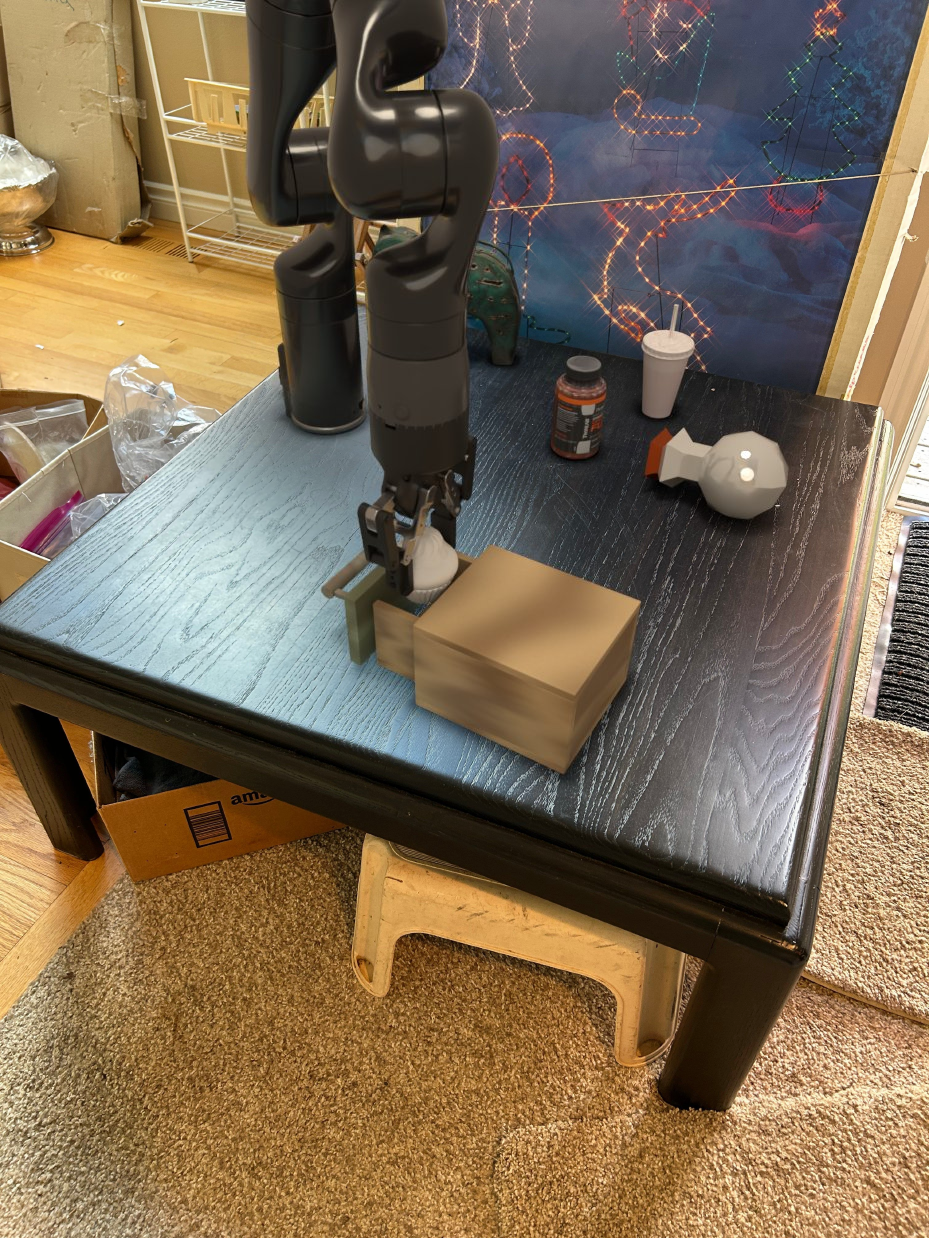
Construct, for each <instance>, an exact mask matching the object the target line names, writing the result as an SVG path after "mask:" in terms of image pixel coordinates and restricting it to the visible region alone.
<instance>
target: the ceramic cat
mask: <svg viewBox="0 0 929 1238" xmlns="http://www.w3.org/2000/svg"><path fill="white" fill-rule="evenodd" d="M423 219H424V217H422V218H420V221H419V231H420V233H419V232H418V231H416V230H414V229H413V228H410V227H408V226H402V225H400V226H395V227H393V228H391V227H389V226H388V225H387V224H385V223H384V224H382V225H381V226H380V228H379V232H378V238H377V240H376V242H375V245H374V246H373V249H372V253H371V258H372V257H373V256H374V255H375V254H377V253H378V252H379V251H381V250H384V249H386V248H388V247H391V246H393V245H396V244H399V243H402V242H405V241H408V240H410V239H412V238H414V237H416V236H418V235H420V234H421V233H422V232H423V231H424V229H423V221H424V220H423ZM477 244H480V245H483V246H485V247H483V246H480V245H477V246H476V250H475V254H474V258H473V263H472V267H471V272H470V277H469V283H468V301H467V303H468V306H467V316H471V317H474V318H476V319H478V320H479V321H480V322H481V323H482V325H483V326H484V329H485V331H486V333H487V336H488V340H489V342H490V348H491V349H490V351H491V362H492V363H493V365H497V366H512V364H513V363H514V359H515V357H516V351H517V344H518V339H519V334H520V329H521V321H522V309H521V298H520V297H521V296H520V291H519V287H518V284H517V281H516V276H515V268H514V266H513V263H512V260H511V258H510V256H509V255H508V254H507V252H506V251H505V250H504V249H503V248H502V247H501V246H499V245H497V244H495V243H493V242H490V241H487V240H484V239H483V240H482V239H478V242H477ZM487 247H490V248H492V249H494V250H497V252H499V253H500V254H501V255H502V256H503V257H504V258H505V259H506V260H507V261H508V264H509V265H508V264H507V262H506V261H505V259H503V258H502V257H501V256H499V255H498V254H497V253H496V252H494V251H493V250H491V249H489V248H487Z"/></svg>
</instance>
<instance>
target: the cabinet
mask: <svg viewBox="0 0 929 1238" xmlns="http://www.w3.org/2000/svg"><path fill="white" fill-rule="evenodd" d="M641 606H642V601H641V600H638V599H637V598H634V597H631V596H629V595H626V594H623V593H621V592H618V591H615V590H613V589H610V588H607V587H604V586H602V585H599V584H597V583H594V582H592V581H589V580H586V579H583V578H581V577H579V576H576V575H574V574H571V573H567V572H565V571H563V570H560V569H557V568H555V567H552V566H550V565H547V564H544V563H541V562H539V561H536V560H533V559H531V558H528V557H526V556H523V555H521V554H518V553H515V552H512V551H510V550H508V549H505V548H502V547H500V546H496V545H494V544H492V543H490V544H489V545H488V546H486V548H485V549H484V551H482V553H480V554H479V556H477V558H476V560H475V561H474V562H473V563H472V564H471V565H470V566H469V567H468V568H467V569H466V570H465V571H464V572H463V573H462V574H461V575H460V577H459V578H458V579H457V580H456V581H455V582H454V583H453V584H452V585H451V586H450V587H449V588H448V589H447V590H446V591H445V592H444V593H443V594H442V595H441V596H440V597H439V598H438V599H437V600H436V601H435V603H434V604H433V605H432V606H431V607H430V608H429V609H428V610H427V611H426V612H425V613H424V614H423V615H422V616H421V617H420V618H419V619H418V620H417V621H416V622H415V623H414V624H413V642H414V670H415V682H414V691H415V692H414V694H415V695H414V696H415V697H414V698H415V699H414V700H415V705H416V706H418V707H421V708H423V709H425V710H427V711H428V712H431V713H433V714H435V715H437V716H439V717H442V718H443V719H445V720H448V721H450V722H452V723H454V724H456V725H458V726H461V727H462V728H464V729H467V730H469V731H471V732H474V733H475V734H477V735H479V736H482V737H483V738H485V739H488V740H490V741H492V742H494V743H496V744H498V745H499V746H500V745H501V746H502V747H505V748H507V749H509V750H511V751H513V752H515V753H517V754H519V755H521V756H524V757H526V758H528V759H530V760H532V761H534V762H536V763H537V764H540V765H542V766H545V767H547V768H549V769H550V770H553V771H555V772H557V773H560V774H561V775H565V774H566V773H567V771H568V769H569V767H570V766H571V764H572V763H573V761H574V760H575V758H576V757H577V755H578V754H579V753H580V751H581V749H582V748H583V747H584V745H585V743H586V742H587V740H588V739H589V737H590V736H591V734H592V732H593V731H594V729H595V728H596V727H597V725H598V723H599V722H600V720H601V719H602V717H603V716H604V714H605V713H606V711H607V709H608V708H609V707H610V705H611V703H612V702H613V701H614V699H615V698H616V696H617V694H618V693H619V692H620V690H621V688H622V687H623V685H624V684H625V683H626V681H627V677H628V671H629V665H630V661H631V657H632V651H633V645H634V641H635V635H636V630H637V625H638V620H639V615H640V610H641Z"/></svg>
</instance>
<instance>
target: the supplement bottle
mask: <svg viewBox="0 0 929 1238" xmlns="http://www.w3.org/2000/svg"><path fill="white" fill-rule="evenodd" d="M564 372H565V373H564V374H563V373H562V374H561V376H559V378H557V381H556V384H555V389H554V400H553V411H552V421H551V432H550V447H551V449H552V451H553V452H554V453H555V454H557V455H558V456H559V457H560V456H561V457H563V458H566V459H569V460H585V459H588V458H590V457H592V456H594V455H595V454H596V453H598V451H599V447H600V445H601V444H600V443H601V434H602V429H603V419H604V412H605V405H606V397H607V389H608V388H607V383H606V380H604V378H602V376H601V374H602V362H601V361H600V360H598V359H597V358H596V357H593V356H589V355H575V356H572V357H570V358H568V359H567V361H566V364H565V369H564Z"/></svg>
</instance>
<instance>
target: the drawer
mask: <svg viewBox="0 0 929 1238" xmlns="http://www.w3.org/2000/svg"><path fill="white" fill-rule="evenodd" d="M455 552H456V554H457V557H458V569H457V572H456V573H455V575H454V576H453V577H454V578H453V579H452V581H451V583H450V584H449V585H448V587H447V588H446V589H445V591H446V590H447V589H448V588H449V587H450V586H451V585H452V584H453V583H454V582H455V581H456V580H457V579H458V578H459V577H460V575H461V574H462V573H463V572H464V571H465V570H466V569H467V568H468V567H469V566H470V565H471V564H472V563H473V562H474V561H475V560H476V559H477V558H476V557H473V556H470V555H468V554H465V553H463V552H460V551H458V550H455ZM369 565H371V563H370V562H368V561H366V558H365V553H364V549H362V550H361V551H360V552H359V553H358V554H357V555H356V556H355V557H353V559H351V560H350V561H349V562H348V563H347V564H346V565H345V566H343V567H342V568H341V569H340V570H339V571H338V572H336V573H335V574H334V575H333V576H332V577H331V578H330V579H328V580H327V582H325V583H324V584H323V585H322V586H320V587H321V588H320V592H321V594H322V596H324V597H325V598H326V599H329V600H332V599H333V598H334V597H335V598H337V599H339V600H342V601H343V602H344V603H343V604H344V612H345V613H344V614H345V621H346V632H347V641H348V650H349V652H348V653H349V661H350V662H352V663H354V664H356V665H358V666H362V665H363V664H364V663H365V662H366V661H367V660H368V659H369V658H370V657H371V656H372V655H373V654H374V653H376V664H377V665H378V666H380V667H382V668H385V669H386V670H388V671H391V672H393V673H395V674H397V675H399V676H401V677H404V678H406V679H408V680H410V681H412V682H414V683H415V670H414V642H413V624H414V623H415V622H416V621H417V620H418V619H419V618H420V617H421V616H422V615H423V614H424V613H425V612H426V611H427V610H428V609H429V608H430V607H431V606H432V605H433V604H434V603H435V601H436V600H435V601H434V602H431V603H428V605H427V606H426V607H425V608H424V609H422V611H421V612H420V613H419V614H418V615H415V614H413V613H414V612H415V611H416V610H417V609H418V608H419V607H420V606H421V604H420V603H414V602H412V601H411V600H409V599H408V598H407V597H406V596H403V595H401V594H398V593H396V592H394V591H392V590H390V589H388V588H387V586H386V572H385V568H384V567H381V566H379V565H376V566H375V567H374V568H373V569H372V570H371V571H370V572H369V573H368V574H367V575H365V577H363V578H362V579H361V580H360V581H359V582H358V583H357V584H355V586H354V587H352V589H350V590H349V591H345V590H344V588H345V587H347V586H348V585H349V584H350V583H351V582H352V581H353V580H354V579H355V578H356V577H357V576H359V575H360V574H361V573H362V572H363V571H364V570H365V569H366V568H367V567H369ZM445 591H444V592H445ZM444 592H443V593H444ZM443 593H442V594H443Z"/></svg>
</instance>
